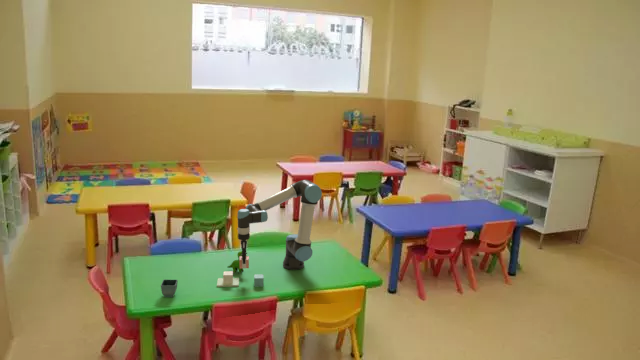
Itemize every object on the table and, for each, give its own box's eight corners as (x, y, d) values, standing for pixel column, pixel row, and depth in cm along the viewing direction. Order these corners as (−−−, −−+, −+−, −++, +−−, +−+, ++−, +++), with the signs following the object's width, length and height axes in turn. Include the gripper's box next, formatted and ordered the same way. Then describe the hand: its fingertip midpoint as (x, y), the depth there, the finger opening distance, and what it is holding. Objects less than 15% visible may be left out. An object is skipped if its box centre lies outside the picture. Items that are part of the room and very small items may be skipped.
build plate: (239, 279, 359) (239, 269, 357) (238, 286, 348) (238, 276, 346) (217, 279, 357) (217, 269, 355) (216, 286, 346) (216, 276, 345)
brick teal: (263, 282, 355) (263, 274, 354) (263, 286, 350) (263, 278, 348) (254, 282, 355) (254, 274, 353) (254, 286, 349) (254, 278, 347)
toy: (244, 274, 367) (244, 253, 363) (225, 271, 370) (225, 251, 366) (247, 270, 373) (247, 250, 369) (228, 268, 375) (228, 248, 372)
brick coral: (248, 264, 356) (248, 256, 355) (248, 268, 351) (248, 259, 349) (239, 264, 356) (239, 256, 354) (239, 268, 350) (239, 259, 348)
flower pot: (175, 299, 328) (175, 285, 326) (160, 299, 327) (160, 285, 325) (178, 292, 336) (177, 279, 334) (163, 292, 336) (163, 279, 333)
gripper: (238, 227, 356) (238, 260, 362) (237, 238, 338) (238, 272, 343) (249, 227, 357) (250, 259, 363) (249, 237, 339) (249, 271, 344)
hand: (244, 265), depth 353 cm, fingers closed on brick coral, 6 cm apart
